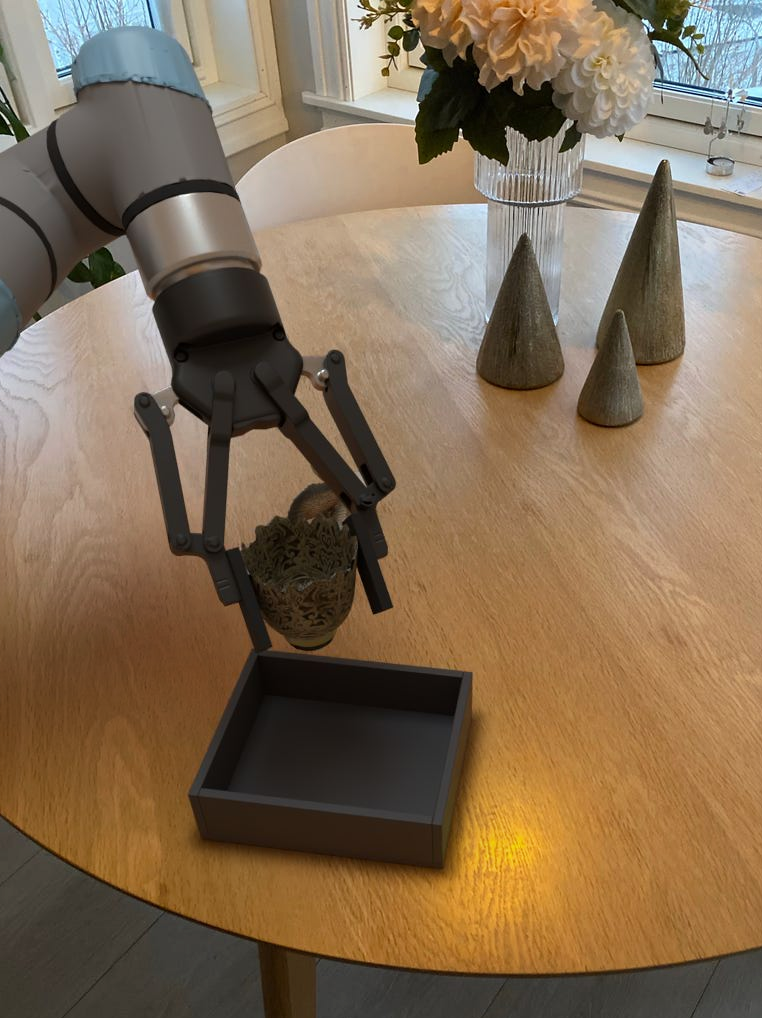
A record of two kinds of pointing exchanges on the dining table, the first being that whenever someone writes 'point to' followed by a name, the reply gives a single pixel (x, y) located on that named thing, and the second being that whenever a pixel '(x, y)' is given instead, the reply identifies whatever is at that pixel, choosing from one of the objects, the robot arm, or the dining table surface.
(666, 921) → the dining table surface
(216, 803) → the open rectangular tray
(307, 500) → the eagle figurine
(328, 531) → the cup
